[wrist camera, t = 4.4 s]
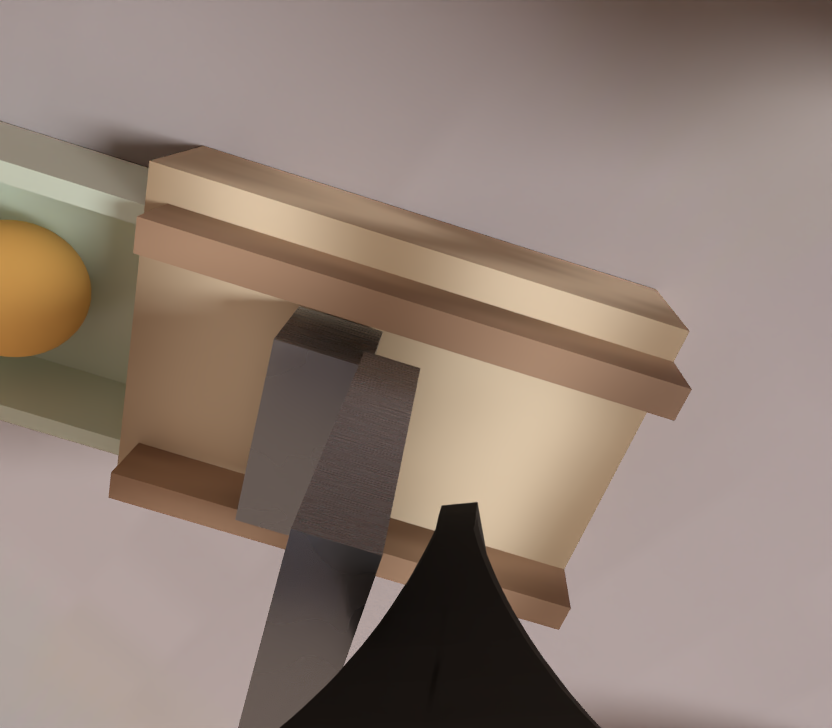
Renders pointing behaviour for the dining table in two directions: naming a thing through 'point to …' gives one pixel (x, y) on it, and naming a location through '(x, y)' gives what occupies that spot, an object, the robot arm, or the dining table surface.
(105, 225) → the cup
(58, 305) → the ball
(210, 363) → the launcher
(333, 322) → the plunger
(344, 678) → the robot arm
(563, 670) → the dining table surface
